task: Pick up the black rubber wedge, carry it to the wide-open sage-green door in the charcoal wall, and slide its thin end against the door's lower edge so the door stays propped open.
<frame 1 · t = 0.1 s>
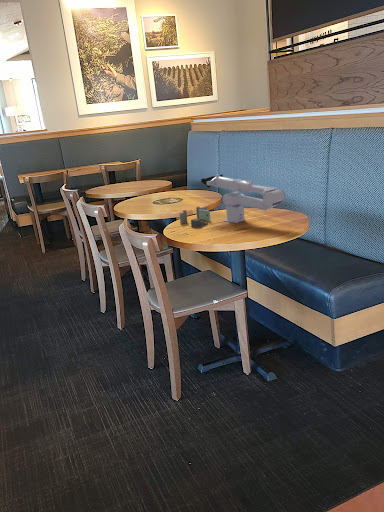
hand: (206, 179, 254), 21 cm above the table, tool horizontal, fingers open, 7 cm apart
door frame: (194, 220, 254), on the table
wedge: (199, 226, 241), on the table
door: (203, 215, 251), point 3 cm above the table, hinge at 90.0°
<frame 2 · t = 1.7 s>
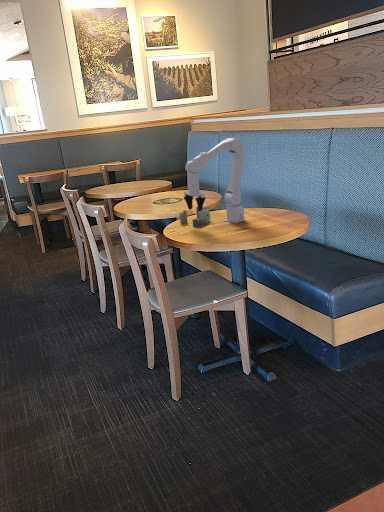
hand: (195, 210, 237), 9 cm above the table, tool pointing down, fingers open, 7 cm apart
wedge: (201, 225, 242), on the table
everything else where it was.
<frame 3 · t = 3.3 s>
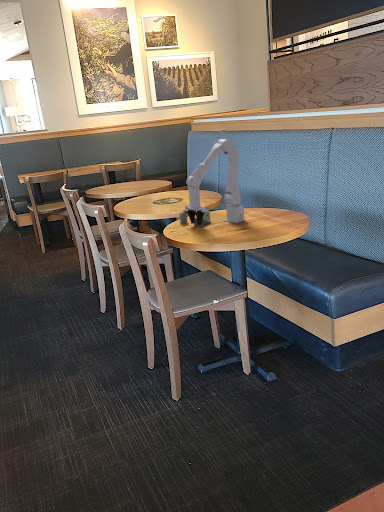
hand: (196, 223, 239), 1 cm above the table, tool pointing down, fingers closed on wedge, 4 cm apart
wedge: (202, 224, 243), on the table, touching gripper
everything else where it was.
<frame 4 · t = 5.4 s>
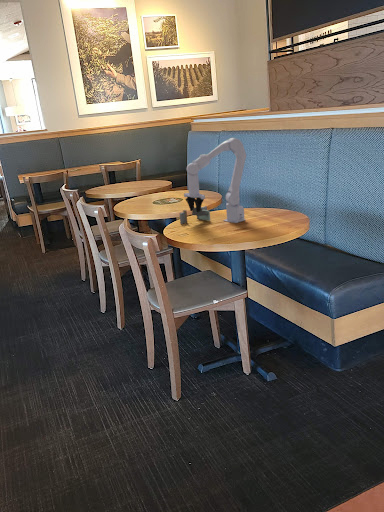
hand: (195, 211, 243), 7 cm above the table, tool pointing down, fingers closed on wedge, 4 cm apart
wedge: (200, 215, 246), point 4 cm above the table, tilted 10°, touching door, gripper
door: (203, 215, 251), point 3 cm above the table, hinge at 90.0°, touching wedge
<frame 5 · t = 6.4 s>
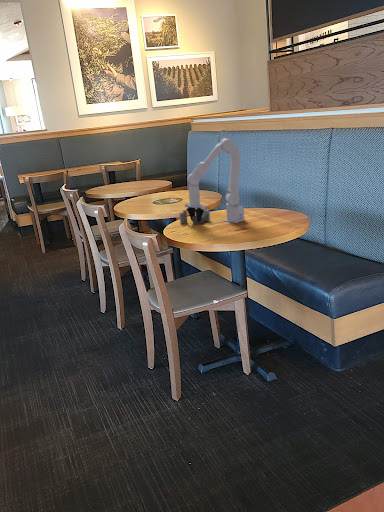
hand: (196, 221, 245), 2 cm above the table, tool pointing down, fingers closed on wedge, 4 cm apart
wedge: (200, 221, 247), point 1 cm above the table, tilted 9°, touching gripper
door: (203, 215, 251), point 3 cm above the table, hinge at 90.0°
when the fingers open (2 cm above the table, at t = 8.0 s): wedge stays where it is, on the table.
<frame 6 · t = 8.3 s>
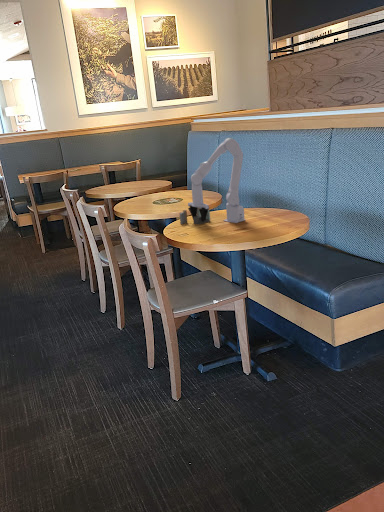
hand: (199, 220, 246), 2 cm above the table, tool pointing down, fingers open, 6 cm apart
wedge: (201, 222, 248), on the table
everything else where it was.
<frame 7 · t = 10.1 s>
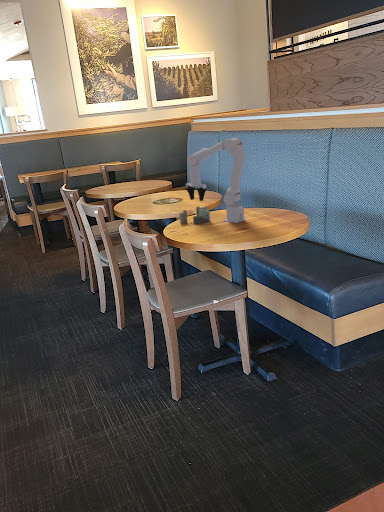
hand: (196, 200, 255), 10 cm above the table, tool pointing down, fingers open, 7 cm apart
nothing on the table moved.
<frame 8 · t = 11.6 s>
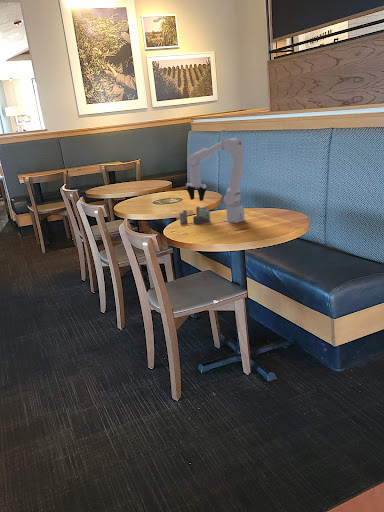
hand: (196, 200, 256), 10 cm above the table, tool pointing down, fingers open, 7 cm apart
nothing on the table moved.
at the end: wedge 0.1 cm from the target spot, on the table; door at +90° (first picture: +90°); wedge tilted 0° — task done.
